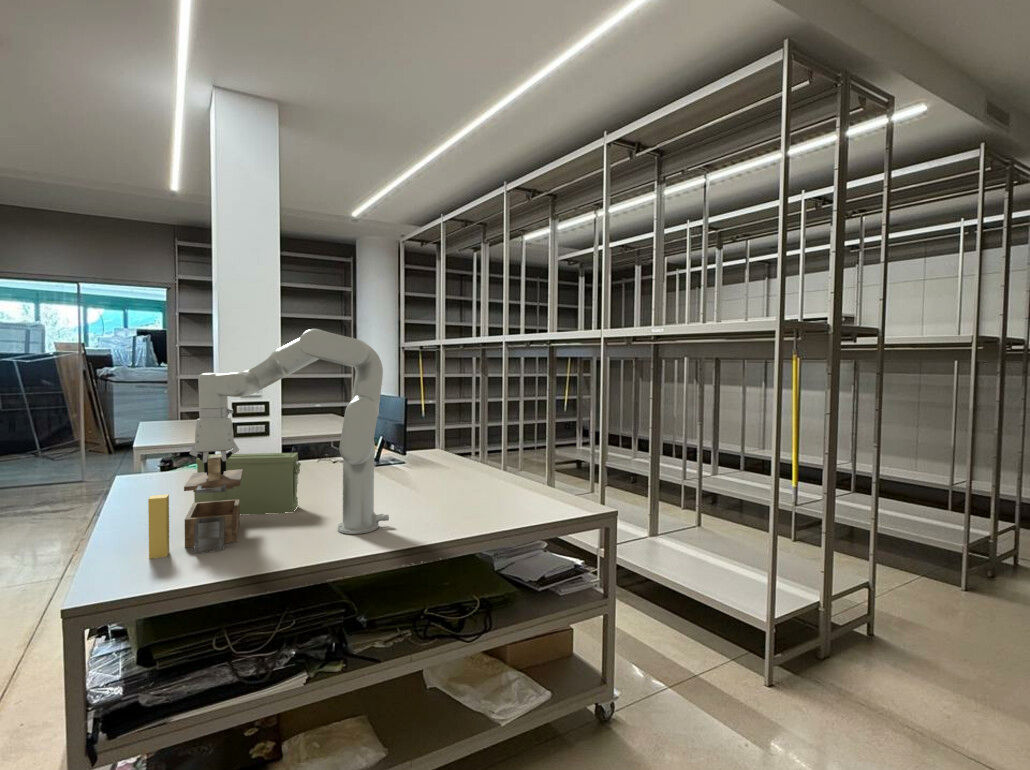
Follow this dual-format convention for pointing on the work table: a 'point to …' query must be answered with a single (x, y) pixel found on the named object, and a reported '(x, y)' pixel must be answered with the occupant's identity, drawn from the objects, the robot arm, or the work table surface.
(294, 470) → the ammunition box
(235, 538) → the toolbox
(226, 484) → the lid
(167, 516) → the yellow rectangular block
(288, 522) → the work table surface
